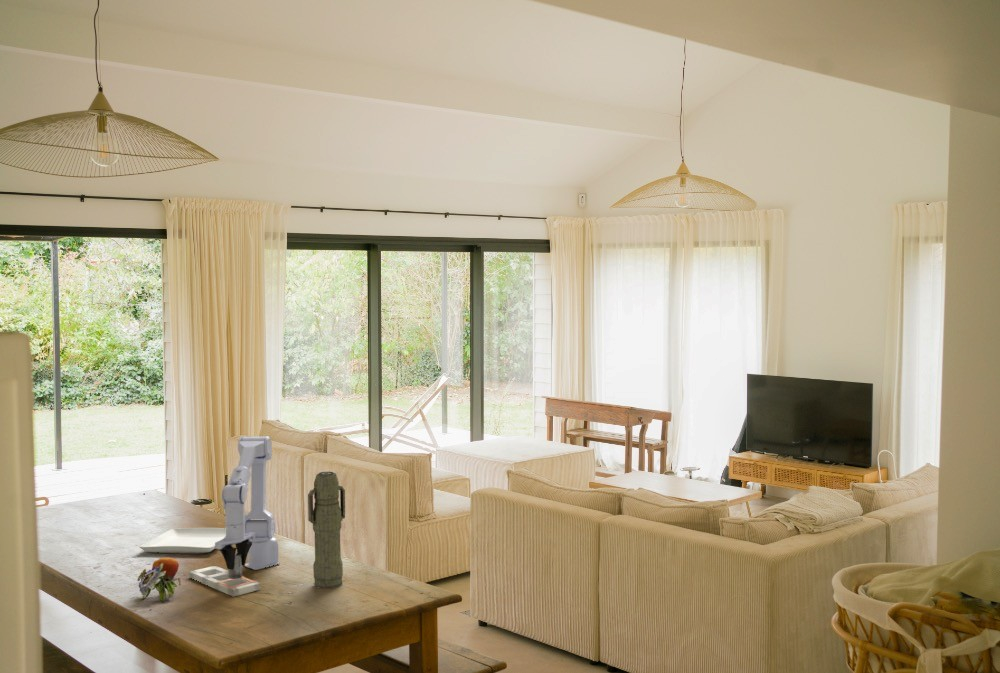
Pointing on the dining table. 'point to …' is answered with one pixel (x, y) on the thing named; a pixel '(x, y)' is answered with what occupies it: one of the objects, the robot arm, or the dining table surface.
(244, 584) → the hole rail
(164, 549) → the square plate
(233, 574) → the metal peg
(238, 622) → the dining table surface
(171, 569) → the fruit
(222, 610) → the dining table surface
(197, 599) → the dining table surface
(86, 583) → the dining table surface
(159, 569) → the passion flower
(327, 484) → the thermos
